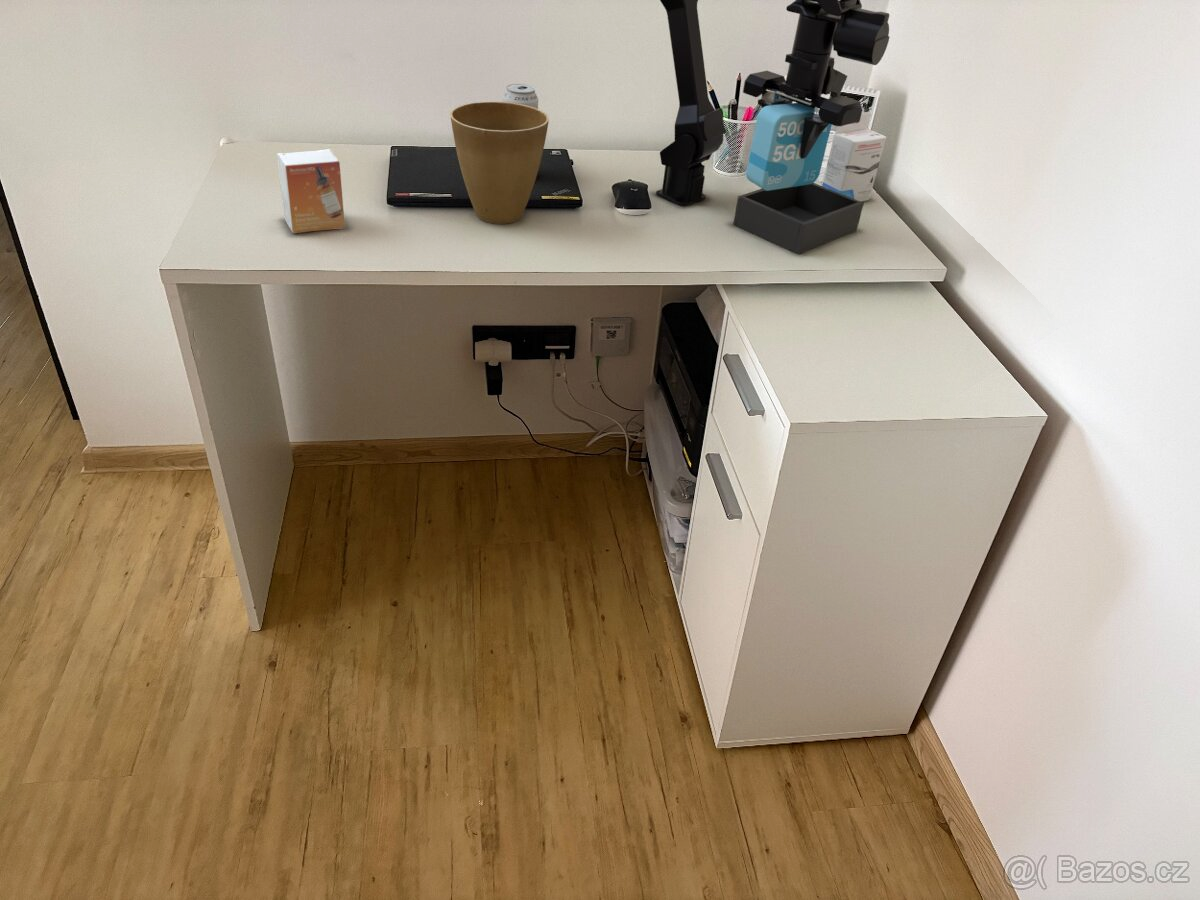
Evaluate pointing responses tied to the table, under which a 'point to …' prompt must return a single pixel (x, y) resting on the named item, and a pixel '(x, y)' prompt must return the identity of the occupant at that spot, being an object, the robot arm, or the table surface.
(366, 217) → the table surface
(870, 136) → the ink box
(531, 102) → the energy drink can
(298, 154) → the small box
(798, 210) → the black box
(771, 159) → the data package
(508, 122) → the plant pot
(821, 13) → the robot arm
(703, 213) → the table surface
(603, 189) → the table surface
